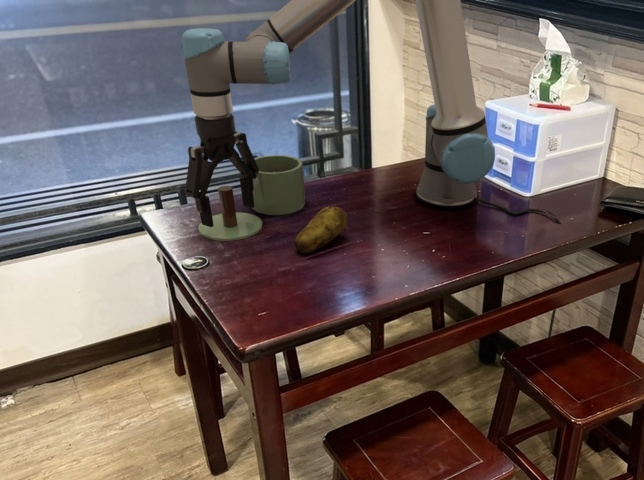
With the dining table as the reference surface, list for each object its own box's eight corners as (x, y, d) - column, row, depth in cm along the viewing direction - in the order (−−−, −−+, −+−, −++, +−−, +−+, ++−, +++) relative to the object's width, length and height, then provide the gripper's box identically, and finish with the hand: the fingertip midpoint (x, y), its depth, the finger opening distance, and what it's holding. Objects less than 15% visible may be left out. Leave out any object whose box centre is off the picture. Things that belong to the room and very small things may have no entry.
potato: (285, 244, 131) (282, 210, 127) (340, 232, 137) (338, 198, 133) (301, 261, 125) (298, 225, 121) (357, 247, 131) (356, 212, 127)
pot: (315, 208, 148) (312, 165, 142) (269, 221, 141) (264, 177, 135) (287, 192, 155) (283, 151, 150) (242, 204, 148) (236, 162, 142)
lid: (274, 232, 136) (269, 190, 131) (217, 249, 128) (209, 206, 123) (244, 212, 144) (238, 172, 139) (188, 227, 137) (180, 186, 131)
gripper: (242, 99, 133) (254, 194, 145) (151, 125, 115) (173, 230, 127) (269, 105, 130) (278, 201, 142) (179, 132, 112) (199, 239, 124)
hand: (229, 215), depth 134 cm, fingers open, 12 cm apart
